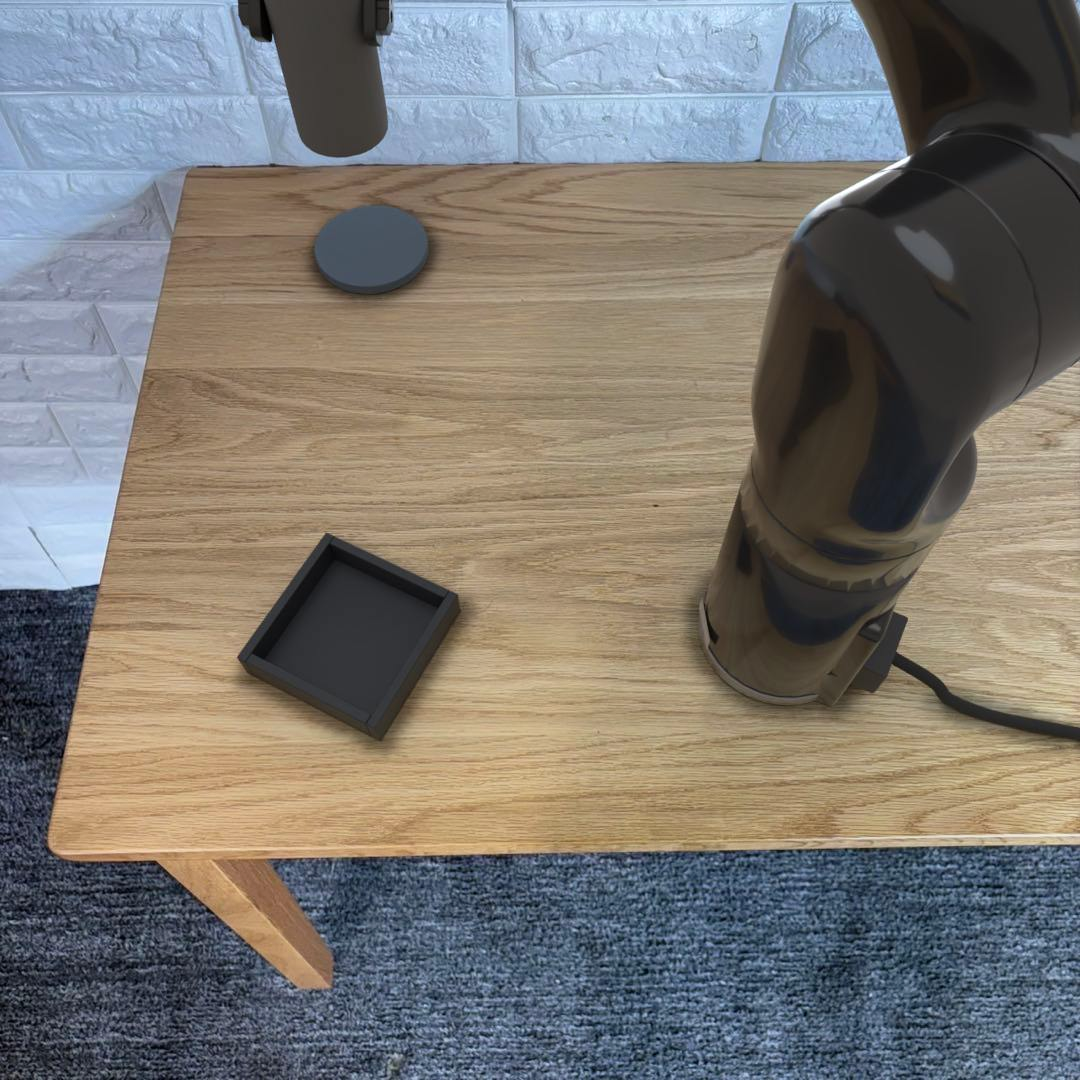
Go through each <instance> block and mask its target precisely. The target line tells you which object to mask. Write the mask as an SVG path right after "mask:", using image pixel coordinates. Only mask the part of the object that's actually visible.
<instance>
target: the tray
mask: <svg viewBox="0 0 1080 1080" xmlns="http://www.w3.org/2000/svg"><path fill="white" fill-rule="evenodd" d="M461 612H462V609H461V604H460V598H459V594H458V593H456V592H454V591H452V590H449V589H447V588H445V587H444V586H441V585H440V584H437V583H435V582H433V581H431V580H428V579H426V578H424V577H423V576H420V575H418V574H416V573H414V572H412V571H410V570H408V569H405V568H403V567H401V566H399V565H397V564H395V563H393V562H390V561H389V560H386V559H384V558H382V557H380V556H377V555H375V554H373V553H371V552H369V551H368V550H365V549H362V548H360V547H358V546H356V545H354V544H353V543H350V542H348V541H346V540H343V539H342V538H339V537H337V536H335V535H333V534H331V533H329V532H325V533H324V535H323V536H322V537H321V539H320V540H319V541H318V543H317V545H316V546H315V547H314V548H313V550H312V551H311V553H310V554H309V556H308V557H307V558H306V560H305V561H304V562H303V564H302V565H301V567H300V568H299V569H298V571H297V572H296V574H295V575H294V577H292V579H291V580H290V582H289V584H287V586H286V588H285V589H284V590H283V592H282V593H281V594H280V596H279V597H278V599H277V600H276V602H275V603H274V604H273V606H272V607H271V608H270V610H269V611H268V613H267V614H266V615H265V616H264V618H263V620H262V621H261V622H260V624H259V625H258V626H257V628H256V629H255V631H254V632H253V634H252V635H251V637H250V638H249V639H248V641H246V644H245V645H243V648H242V649H241V650H240V652H239V653H238V654H237V656H236V659H237V660H238V662H240V664H241V666H242V668H243V669H244V670H245V672H246V674H249V675H251V676H253V677H254V678H257V679H258V680H260V681H262V682H264V683H266V684H268V685H270V686H272V687H274V688H276V690H279V691H281V692H283V693H284V694H287V695H288V696H291V697H293V698H295V699H297V700H299V701H300V702H303V703H304V704H307V705H308V706H310V707H312V708H314V709H316V710H318V711H320V712H322V713H324V714H326V715H327V716H330V717H331V718H333V719H336V720H337V721H338V722H339V721H340V722H341V723H343V724H345V725H347V726H348V727H351V728H353V729H354V730H356V731H358V732H360V733H362V734H364V735H366V736H368V737H370V738H372V739H374V740H376V741H378V742H380V743H382V741H383V739H384V738H385V737H386V735H387V733H388V731H389V730H390V728H391V726H392V725H393V724H394V722H395V720H396V718H397V717H398V715H399V713H400V711H401V710H402V708H403V707H404V705H405V703H406V702H407V700H408V698H409V697H410V696H411V693H413V690H414V689H415V687H416V685H417V684H418V682H419V681H420V680H421V677H422V676H423V675H424V672H425V671H426V669H427V667H428V666H429V664H430V663H431V661H432V660H433V658H434V656H435V655H436V653H437V651H438V649H439V648H440V646H441V645H442V643H443V641H444V640H445V638H446V636H447V635H448V633H449V632H450V630H451V628H452V627H453V625H454V623H455V622H456V620H457V618H458V617H459V615H460V614H461Z"/></svg>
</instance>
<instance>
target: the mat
mask: <svg viewBox="0 0 1080 1080" xmlns="http://www.w3.org/2000/svg"><path fill="white" fill-rule="evenodd" d="M317 234H318V235H317V236H316V239H315V241H314V247H313V249H314V258H315V261H316V265H317V268H318V270H319V272H320V274H321V275H322V276H323V278H324V279H325V280H326V281H328V282H329V283H330V284H331V285H333V286H334V287H336V288H338V289H341V290H343V291H346V292H349V293H354V294H360V295H373V294H375V295H377V294H381V293H382V294H383V293H387V292H391V291H394V290H396V289H398V288H401V287H403V286H405V285H407V284H408V283H409V282H411V281H412V280H413V279H415V278H416V277H417V276H418V275H419V274H420V273H421V272H422V269H424V267H425V264H426V262H427V260H428V256H429V243H428V235H427V233H426V230H425V228H424V227H423V225H422V224H421V222H420V221H419V220H418V219H417V218H416V217H414V216H413V215H412V214H410V213H409V212H407V211H404V210H402V209H401V208H397V207H393V206H389V205H379V204H378V205H376V204H373V205H371V204H370V205H362V206H357V207H353V208H350V209H348V210H346V211H343V212H340V213H339V214H337V215H336V216H334V217H333V218H331V219H330V220H328V222H326V223H325V224H324V225H323V227H322V228H321V229H320V231H319V232H318V233H317Z"/></svg>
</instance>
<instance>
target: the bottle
mask: <svg viewBox="0 0 1080 1080" xmlns="http://www.w3.org/2000/svg"><path fill="white" fill-rule="evenodd" d="M264 2H265V6H266V10H267V14H268V18H269V22H270V26H271V30H272V39H273V42H274V46H275V49H276V53H277V57H278V61H279V65H280V69H281V73H282V77H283V81H284V84H285V88H286V92H287V95H288V100H289V104H290V108H291V112H292V115H293V120H294V122H295V126H296V130H297V134H298V136H299V139H300V141H301V142H302V144H303V145H304V146H305V147H306V148H307V149H309V151H312V153H315V154H317V155H320V156H323V157H327V158H339V159H340V158H341V159H342V158H350V157H355V156H359V155H363V154H365V153H367V152H370V151H371V150H373V149H374V148H375V147H377V146H378V145H379V144H380V143H381V142H382V141H383V140H384V139H385V137H386V136H387V132H388V129H389V117H388V116H389V115H388V109H387V108H388V107H387V102H386V95H385V87H384V82H383V76H382V69H381V63H380V56H379V51H378V47H374V46H369V45H368V44H367V43H366V42H365V40H364V32H363V0H264Z"/></svg>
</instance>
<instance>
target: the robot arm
mask: <svg viewBox="0 0 1080 1080" xmlns="http://www.w3.org/2000/svg"><path fill="white" fill-rule="evenodd" d="M848 2H849V4H850V5H851V7H852V8H853V11H854V12H855V14H856V15H857V17H858V19H859V21H860V22H861V24H862V26H863V29H864V31H865V34H866V35H867V37H868V39H869V41H870V44H871V46H872V49H873V50H874V53H875V56H876V59H877V60H878V64H879V66H880V69H881V71H882V74H883V77H884V79H885V82H886V85H887V88H888V91H889V94H890V97H891V100H892V103H893V106H894V110H895V113H896V116H897V120H898V123H899V127H900V130H901V133H902V137H903V143H904V147H905V152H906V157H904V158H902V159H900V160H898V161H896V162H894V163H892V164H891V165H889V166H887V167H885V168H883V169H881V170H879V171H877V172H875V173H874V174H871V175H870V176H867V177H866V178H864V179H862V180H861V181H858V182H857V183H855V184H853V185H851V186H849V187H848V188H845V189H843V190H841V191H840V192H837V193H836V194H834V195H832V196H830V197H828V198H827V199H825V200H824V201H822V202H820V203H819V204H818V205H817V206H815V207H813V209H812V210H810V211H809V213H808V214H807V215H806V216H805V217H804V218H802V220H801V222H800V223H799V224H798V226H797V227H796V228H795V230H794V232H793V233H792V235H791V237H790V239H789V241H788V243H787V245H786V246H785V248H784V250H783V253H782V256H781V258H780V260H779V263H778V265H777V269H776V272H775V276H774V278H773V283H772V287H771V291H770V296H769V300H768V304H767V309H766V315H765V318H764V325H763V329H762V335H761V338H760V345H759V349H758V354H757V357H756V358H757V359H756V364H755V367H754V368H755V369H754V374H753V378H752V382H751V392H750V393H751V394H750V411H751V422H752V427H753V432H754V442H753V445H752V447H751V450H750V451H751V452H750V453H749V458H748V460H747V464H746V467H745V470H744V473H743V476H742V480H741V483H740V486H739V489H738V492H737V495H736V498H735V502H734V504H733V508H732V510H731V514H730V518H729V520H728V524H727V527H726V530H725V532H724V536H723V540H722V542H721V546H720V549H719V551H718V555H717V558H716V562H715V565H714V568H713V570H712V574H711V576H710V577H711V578H710V581H709V583H708V586H707V588H706V589H705V593H704V595H703V596H702V598H701V599H700V602H699V605H698V609H699V611H698V617H697V632H698V638H699V643H700V646H701V648H702V649H701V650H702V651H703V653H704V655H705V657H706V660H707V661H708V663H709V665H710V666H711V667H712V669H713V670H714V671H715V673H716V674H717V675H718V676H719V677H720V678H721V679H722V680H723V681H724V682H725V683H726V684H728V685H729V686H730V687H732V688H733V689H734V690H736V691H737V692H739V693H741V694H743V695H745V696H746V697H749V698H751V699H753V700H755V701H759V702H761V703H766V704H771V705H778V706H797V705H804V704H807V703H810V702H814V701H815V702H818V703H821V704H824V705H826V706H829V707H835V705H836V704H838V702H839V700H840V698H841V697H842V696H843V694H844V693H845V692H846V690H847V689H848V688H849V686H850V685H852V686H854V687H856V688H858V689H861V690H863V691H865V692H867V693H869V694H873V695H874V694H875V693H876V691H878V690H879V688H880V687H881V685H882V684H883V683H884V682H885V681H886V679H887V678H888V676H889V673H890V670H891V668H892V666H893V667H896V668H897V669H899V670H901V671H903V672H904V673H906V674H908V675H909V676H911V677H913V678H915V679H917V680H918V681H919V682H921V683H922V684H924V685H925V686H927V687H928V688H929V689H931V690H932V691H933V692H934V694H935V695H936V697H937V699H938V700H939V701H940V702H941V704H943V705H945V706H947V707H949V708H951V709H953V710H955V711H957V712H959V713H962V714H964V715H966V716H969V717H972V718H975V719H978V720H980V721H981V720H982V721H985V722H989V723H991V724H995V725H999V726H1003V727H1006V728H1007V727H1008V728H1012V729H1015V730H1022V731H1026V732H1033V733H1037V734H1042V735H1047V736H1053V737H1058V738H1064V739H1067V740H1073V741H1079V742H1080V726H1074V725H1069V724H1065V723H1058V722H1053V721H1047V720H1042V719H1037V718H1032V717H1026V716H1020V715H1017V714H1011V713H1008V712H1003V711H998V710H995V709H991V708H988V707H984V706H982V705H979V704H976V703H974V702H971V701H968V700H966V699H963V698H962V697H960V696H957V695H955V694H953V693H952V692H950V690H949V688H948V687H947V685H946V684H945V683H944V681H942V679H940V678H939V677H938V676H937V675H935V674H934V673H933V672H931V671H930V670H928V669H927V668H925V667H923V666H921V665H920V664H918V663H917V662H915V661H913V660H911V659H910V658H908V657H906V656H904V655H903V654H901V653H899V652H898V648H899V645H900V643H901V640H902V638H903V635H904V632H905V629H906V626H907V624H908V621H909V617H908V616H906V615H903V614H901V613H898V612H897V611H895V608H896V605H897V603H898V600H899V598H900V597H901V595H902V594H903V592H904V591H905V590H906V588H907V587H908V585H909V584H910V582H911V580H912V579H913V578H914V576H915V575H916V573H917V572H918V570H919V569H920V568H921V566H922V565H923V563H924V562H925V560H926V559H927V558H928V556H929V555H930V553H931V551H932V550H933V548H934V547H935V546H936V544H937V543H938V541H939V540H940V539H941V537H942V536H943V534H944V533H945V532H946V530H947V529H948V528H949V527H950V525H951V524H952V522H953V521H954V520H955V518H956V517H957V515H958V514H959V512H960V511H961V509H962V508H963V506H964V505H965V503H966V501H967V500H968V498H969V496H970V493H971V492H972V489H973V487H974V484H975V480H976V477H977V471H978V461H979V460H978V448H977V443H976V439H975V435H974V433H975V432H976V431H977V430H978V429H979V428H980V427H981V426H982V425H983V424H984V423H985V422H986V421H988V420H989V419H991V418H993V417H994V416H996V415H997V414H998V413H1000V412H1002V411H1003V410H1005V409H1007V408H1009V407H1010V406H1011V405H1013V404H1015V403H1016V402H1018V401H1020V400H1021V399H1023V398H1024V397H1026V396H1027V395H1029V394H1031V393H1033V391H1035V390H1037V389H1038V388H1039V387H1041V386H1043V385H1045V384H1046V383H1048V382H1049V381H1050V380H1052V379H1054V378H1056V377H1057V376H1058V375H1060V374H1062V373H1063V372H1064V371H1066V370H1068V369H1069V368H1071V367H1073V366H1074V365H1075V364H1077V363H1078V362H1079V361H1080V12H1079V10H1078V7H1077V4H1076V1H1075V0H848ZM394 15H395V2H394V0H363V32H364V40H365V42H366V43H367V44H368V45H369V46H374V47H377V48H378V47H380V48H381V47H382V48H383V45H384V37H390V36H392V32H393V30H394V28H395V16H394ZM237 16H238V19H239V20H240V24H241V25H242V27H244V28H246V29H247V30H248V31H249V36H250V37H251V38H252V39H253V40H255V41H257V43H272V42H273V34H272V30H271V26H270V22H269V18H268V14H267V10H266V6H265V2H264V0H237Z"/></svg>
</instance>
